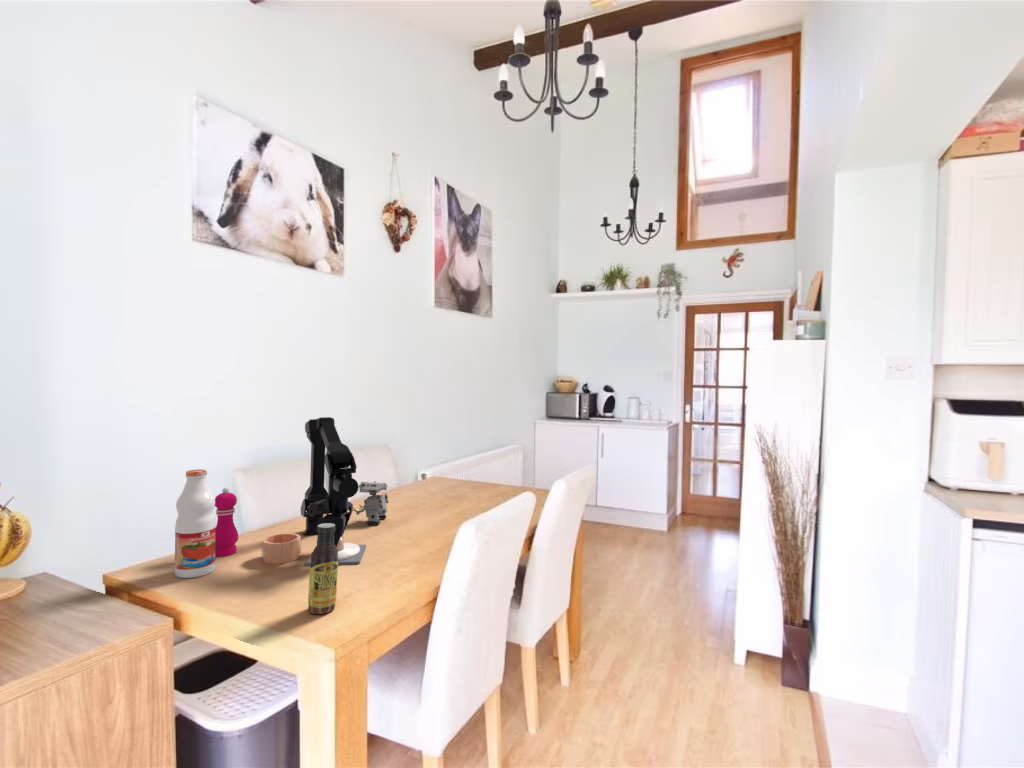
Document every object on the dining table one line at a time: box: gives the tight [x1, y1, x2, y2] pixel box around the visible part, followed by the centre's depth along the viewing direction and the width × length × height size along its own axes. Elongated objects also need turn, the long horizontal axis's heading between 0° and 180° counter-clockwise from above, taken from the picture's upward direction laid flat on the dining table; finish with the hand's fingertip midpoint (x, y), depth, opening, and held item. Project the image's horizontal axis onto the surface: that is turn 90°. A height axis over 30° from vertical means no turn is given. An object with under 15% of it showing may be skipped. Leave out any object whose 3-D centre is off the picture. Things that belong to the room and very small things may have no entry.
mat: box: [305, 544, 367, 567], centre depth 154 cm, size 15×15×1 cm
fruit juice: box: [174, 468, 217, 579], centre depth 139 cm, size 9×9×28 cm
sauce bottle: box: [307, 523, 339, 615], centre depth 119 cm, size 6×6×20 cm
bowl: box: [261, 532, 302, 565], centre depth 151 cm, size 10×10×6 cm
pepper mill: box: [214, 487, 239, 557], centre depth 154 cm, size 7×7×20 cm
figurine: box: [352, 480, 389, 526], centre depth 190 cm, size 9×12×15 cm
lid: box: [336, 536, 360, 561], centre depth 154 cm, size 13×13×5 cm
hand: (337, 542), depth 154 cm, fingers open, 9 cm apart
